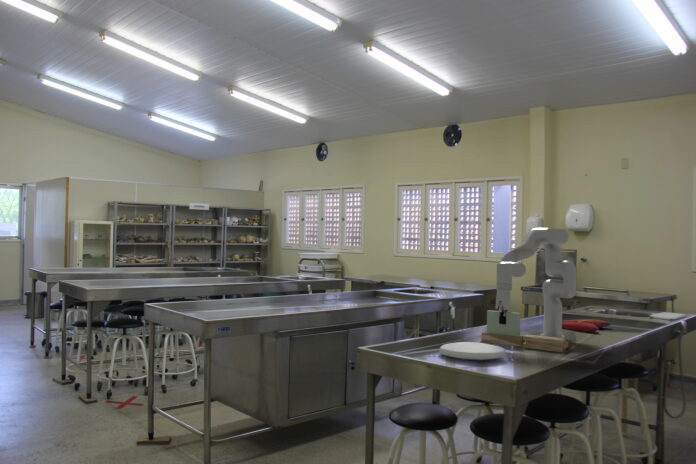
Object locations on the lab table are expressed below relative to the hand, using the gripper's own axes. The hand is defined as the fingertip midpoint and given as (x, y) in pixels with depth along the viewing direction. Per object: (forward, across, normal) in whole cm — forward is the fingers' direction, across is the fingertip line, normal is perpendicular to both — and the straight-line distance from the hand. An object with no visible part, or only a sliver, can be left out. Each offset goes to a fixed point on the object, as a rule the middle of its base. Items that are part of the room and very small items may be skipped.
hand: (503, 323), depth 265 cm
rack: (+11, 0, +21) cm, 23 cm away
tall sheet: (+6, 0, 0) cm, 6 cm away
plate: (+11, +39, -2) cm, 40 cm away
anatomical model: (+11, -86, +21) cm, 89 cm away
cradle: (+11, 0, 0) cm, 11 cm away
